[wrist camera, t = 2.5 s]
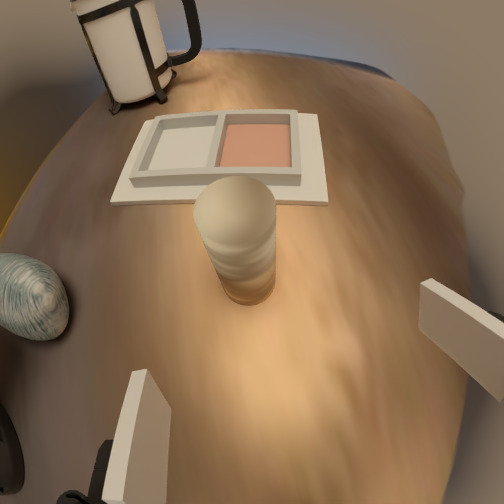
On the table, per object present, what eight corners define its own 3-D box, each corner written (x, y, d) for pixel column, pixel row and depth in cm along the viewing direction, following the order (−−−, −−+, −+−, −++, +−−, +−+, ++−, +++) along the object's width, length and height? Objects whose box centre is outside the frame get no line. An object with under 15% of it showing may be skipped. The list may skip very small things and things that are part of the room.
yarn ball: (-18, 317, 24) (-46, 264, 18) (22, 273, 31) (7, 217, 25) (50, 377, 24) (22, 332, 18) (91, 319, 31) (81, 264, 25)
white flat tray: (112, 205, 34) (103, 192, 31) (147, 124, 41) (141, 111, 38) (327, 205, 31) (330, 190, 29) (316, 118, 38) (318, 103, 36)
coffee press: (127, 130, 41) (64, -32, 14) (99, 103, 47) (49, -18, 20) (212, 81, 45) (186, -69, 19) (169, 63, 51) (140, -54, 24)
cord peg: (220, 304, 27) (186, 242, 16) (225, 256, 29) (200, 176, 19) (274, 306, 27) (275, 245, 16) (276, 257, 29) (276, 176, 18)
